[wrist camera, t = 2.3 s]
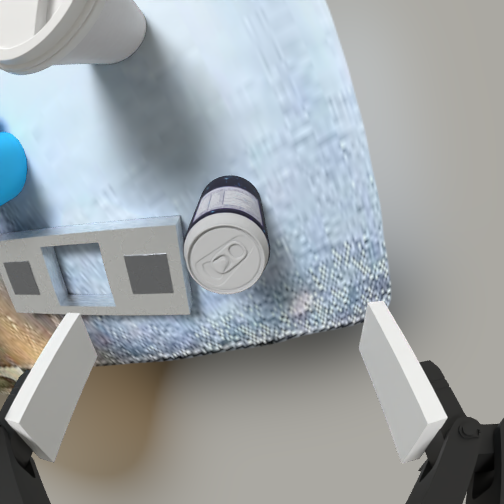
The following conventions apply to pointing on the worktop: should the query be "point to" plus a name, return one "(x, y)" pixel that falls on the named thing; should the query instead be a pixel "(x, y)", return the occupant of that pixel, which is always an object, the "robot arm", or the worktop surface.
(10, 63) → the coffee cup
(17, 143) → the mug
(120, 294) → the white compartment tray
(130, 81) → the worktop surface
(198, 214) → the beverage can
